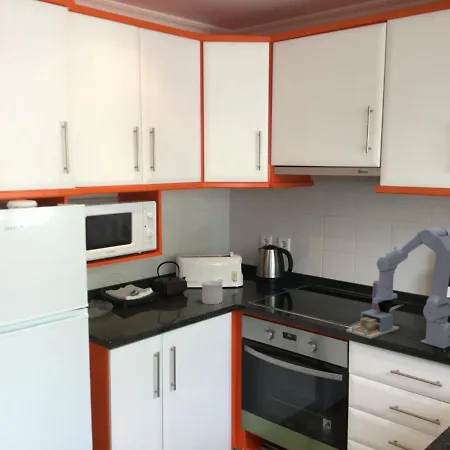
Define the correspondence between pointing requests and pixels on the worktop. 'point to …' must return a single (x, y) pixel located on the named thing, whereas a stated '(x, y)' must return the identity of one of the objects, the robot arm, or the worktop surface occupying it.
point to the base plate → (372, 334)
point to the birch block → (368, 324)
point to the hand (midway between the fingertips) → (384, 317)
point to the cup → (212, 292)
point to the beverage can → (375, 291)
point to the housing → (380, 318)
